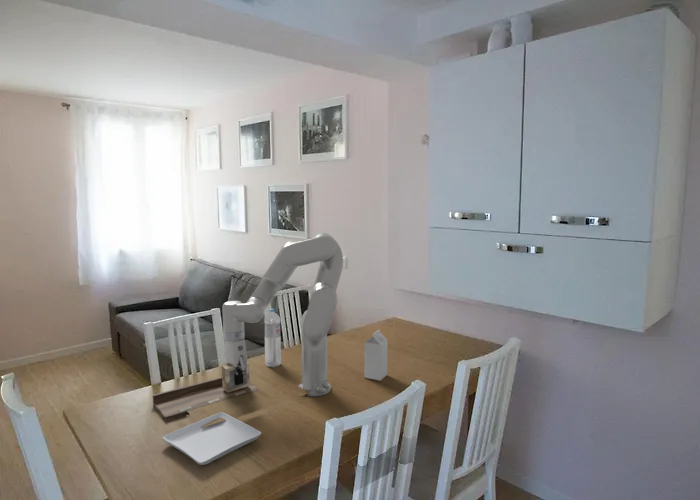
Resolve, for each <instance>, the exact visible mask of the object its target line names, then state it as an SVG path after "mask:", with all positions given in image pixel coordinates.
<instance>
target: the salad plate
mask: <svg viewBox="0 0 700 500" xmlns="http://www.w3.org/2000/svg"><path fill="white" fill-rule="evenodd" d="M218 419H223V421H220V422H217V423H214V424H210V425H207V424H209V423H211V422H213V421H214V420H218ZM205 425H207V426H205ZM203 426H204V427H203ZM261 435H262V432H261V431H260V430H259V429H256V427H255V428H254V427H253V426H252V425H249V424H248V423H245V422H243V421H241V420H239V419H237V418H235V417H233V416H231V415H229V414H227V413H225V412H223V411H220V412H216V413H215V414H212V415H210V416H207V417H205V418H203V419H201V420H198V421H196V422H193V423H191V424H189V425H186V426H183V427H181V428H179V429H177V430H173V431H172V432H169V433H167V434H165V435H163V436H162V437H161V439H162V440H163V441H164V442H165V443H167V445H169V446H171V447H173V448H175V449H177V450H178V451H180V452H182V454H184V455H186V456H187V457H188V458H190V459H191V460H193V461H194V462H195V463H197V464H198V465H200V466H203V465H204V466H206V465H208V464H210V463H212V462H213V461H216V460H217V459H221V458H222V457H224V456H226V455H228V454H230V453H231V452H234V451H235V450H237V449H240V448H242V447H244V446H246V445H248V444H250V443H251V442H254V441H255V440H257V439H258V438H259V437H260V436H261Z"/></svg>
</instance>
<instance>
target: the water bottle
mask: <svg viewBox="0 0 700 500" xmlns="http://www.w3.org/2000/svg"><path fill="white" fill-rule="evenodd" d="M269 311H270V312H269V313H267V315H266V316H265V317H264V321H263V322H264V365H265V366H266V367H267V368H277V367H280V365H281V364H282V351H281V350H282V349H281V347H282V345H281V343H282V338H281V317H280V316H279V314H278V313H276V312H275V308H269Z"/></svg>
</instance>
